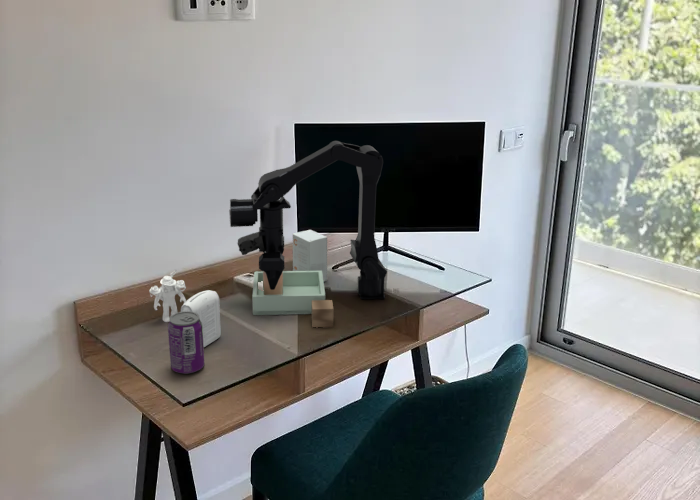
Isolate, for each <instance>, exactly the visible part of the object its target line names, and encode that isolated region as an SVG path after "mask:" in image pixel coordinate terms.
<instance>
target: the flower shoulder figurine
mask: <svg viewBox="0 0 700 500" xmlns="http://www.w3.org/2000/svg"><path fill="white" fill-rule="evenodd" d="M176 273H177V269H174V271H172V272H169V275H164V276H163V277H162V278H161V279H160V282H159V283H160V284H161V285H160V286H159V287H158V285H155V284H154V286H151V287H150V289H149V295H150V296H149V297H150V298H152V297H153V296H155V297H154V302H153V303H154V304H153V308H154V311H158V310H159V309H158V306H159V307H161V304H160V302H159V301H160V300H161V301H162V309H163V311H162V312H163V313H162V321H163V322H165V323H168V322H170V317H171V316H172V315H173V314H175V313H178V312H179V311H178V306H177V303H176V295H178V297H180V298H179V303H182V302H183V304H184V303H185V302H186V301H187V299H186V297H185V295H184V294H183V292H184V291H185V290H186V289H187V286H186V283H185V281H184V280H183V279H180V280H179V279H178V280H176V279H174V278H173V277H175V276H174V275H176ZM170 309H171V312H170Z"/></svg>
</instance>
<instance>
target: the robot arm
mask: <svg viewBox="0 0 700 500" xmlns="http://www.w3.org/2000/svg"><path fill="white" fill-rule="evenodd" d="M337 161H341V162H345V163H347V164H350V165H352V166H354V167H356V172H357V175H358V180H359V190H358V191H359V195H358V197H359V198H358V227H357V228H358V230H357V235H356V238H355V239H350V251H349V255H350V256H351V258H352V259H353V261H354V263H355V264H356V266H357V268H358V269H359V270H360V271H359V276H357V287H356V288H357V289H356V290H357V294H358V295H359V298H360V300H378V299H382V300H383V299H386V295H385V280H386V279H385V278H386V276H387V274H388V270H387V269H386V268H385V265H383V262H381V260H380V259H379V252H378V248H377V243H376V238H375V234H376V233H375V232H376V231H375V229H376V227H375V226H376V207H377V206H376V205H377V203H376V202H377V185H378V183H379V180H380V177H381V174H382V170H383V165H384V158H383V156H382V154H381V153H380V152H379V151H378V150H376V149H375V148H374V147H373V146H371V145H368V144H366V145H362V146H359V145H356V144H353V143H352V144H351V143H345V142H341V141H339V140H333V141H331V142H329V144H327V145H326V146H324V147H322V148H320V149H318V150H317V151H315V152H313V153H311V154H310V155H308V156H306V157H304V158H302V159H300V160H298V161H297V162H294V163H293V164H291V165H290V166H288V167H284V168H279V169H274V170H271V171H270V172H267V173H265V174H262V176H260V178H259V180H258V183H257V184H258V186H257V188H256V189H255V190H254V191H253V193H252V194H251V196H250V198H247V199H244V198H243V199H242V198H241V199H237V198H230V199H229V211H228V212H229V224H230V225H229V227H230V228H241V227H254V225H256V223H258V221H259V227H258V231H257V232H252V233H250V234H247V235H244V236H242V237H239V238H238V239H237V242H236V244H237V246H238V251H239V252H240V253H241V255H242V256H246V255H247V254H248V253H251V252H254V251H257V250H258V251H259V253H261V252H262V253H261V254H260V256H259V257H258V270H260V272H262V271H264V272H265V273H266V275H267V279H268V283H269V286H270V289H271V290H274V289H275V287H276V285H277V283H278V281H279V278H280V276H281V274H282V272H283V271H285V269H286V267H285V256H284V255H283V254H284V251H285V236H284V213H283V212H284V209H291V208H292V206H291V204H290V202H289V201H288V200H287V199H286V198H285V196H286V195H287V194H288V193H289V192H290V191H291V190H292V189H293V187H295V186H296V185H297V184H298V183H300V182H301V181H303V180H305V179H307V178H309V177H311V176H312V175H314V174H315V173H316V174H317V173H318V172H319V171H321V170H323V169H324V168H327V167H328V166H331V164H334V163H335V162H337ZM258 210H259V214H258ZM258 215H259V216H258ZM258 217H259V218H258ZM258 219H259V220H258Z"/></svg>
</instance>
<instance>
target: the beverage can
mask: <svg viewBox="0 0 700 500" xmlns="http://www.w3.org/2000/svg"><path fill="white" fill-rule="evenodd" d="M177 312H178V313H175V314H173V315H172V316H171V315H170V316H169V317H170V322H169V323H168V324H167V335H168V345H169V347H168V348H169V358H170V368H171V370H172V371H174V372H176V373H179V374H187V375H188V374H193V373H196V372H198V371H200V370H201V369H203V367H204V366H205V350H204V348H205V347H204V346H203V330H202V322H201V321H200V317H199V315H198V314H197V313H195V312H189V311H184V312H181V311H177Z"/></svg>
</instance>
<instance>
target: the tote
mask: <svg viewBox="0 0 700 500" xmlns="http://www.w3.org/2000/svg"><path fill="white" fill-rule="evenodd" d="M263 272H264V271H254V275H253V287H252V296H251V297H252V315H253V316H262V315H263V316H270V315H275V316H276V315H278V316H279V315H312V300H326V291H325V289H326V288H325V283H324V282H325V281H324V282H323V275H322V271H293V270H283V295H264V291H261V290H259V289H258V282H261V281H263Z"/></svg>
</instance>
